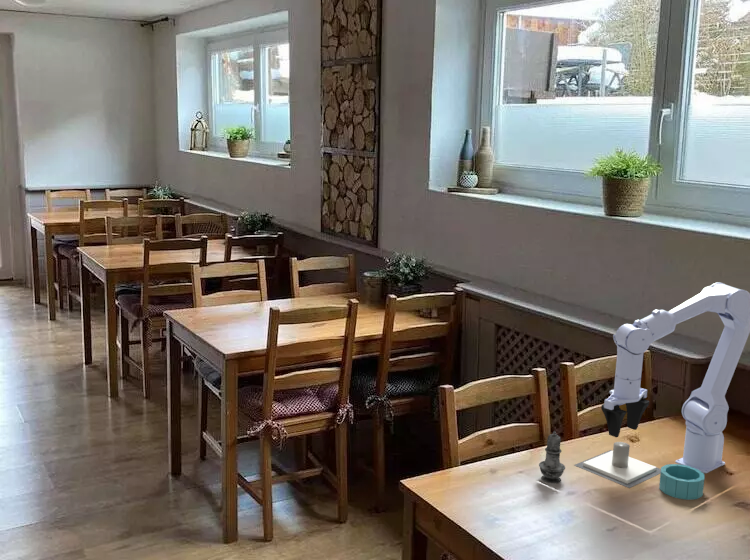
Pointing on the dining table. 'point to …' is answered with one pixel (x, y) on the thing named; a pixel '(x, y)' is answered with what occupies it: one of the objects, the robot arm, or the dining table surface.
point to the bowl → (681, 481)
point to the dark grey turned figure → (552, 461)
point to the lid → (620, 464)
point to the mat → (616, 479)
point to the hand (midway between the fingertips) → (623, 432)
